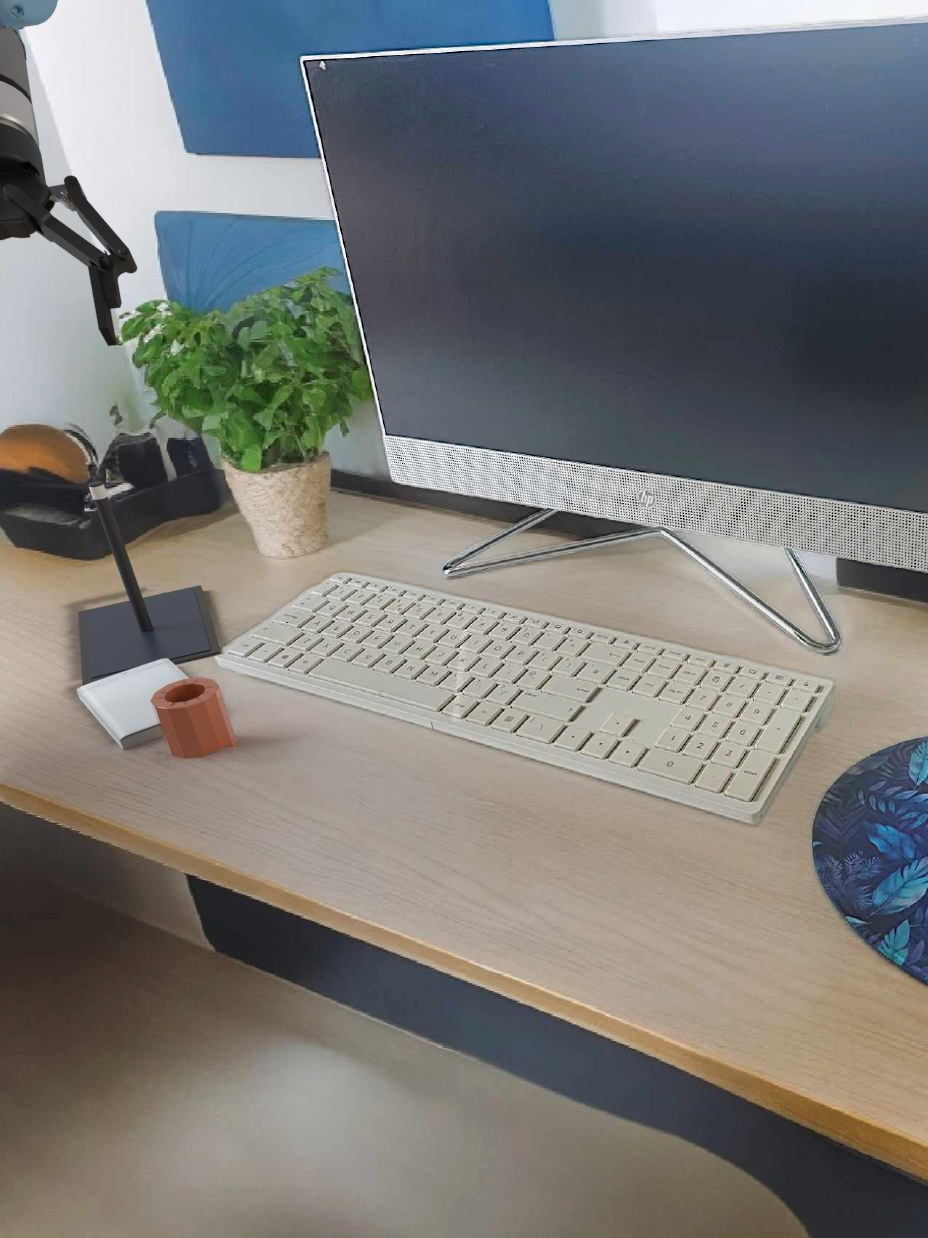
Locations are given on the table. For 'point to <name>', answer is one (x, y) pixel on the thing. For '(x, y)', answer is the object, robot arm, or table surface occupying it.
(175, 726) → the pen holder
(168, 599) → the tablet
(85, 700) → the hard drive
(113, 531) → the stylus
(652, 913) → the table surface
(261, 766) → the table surface
